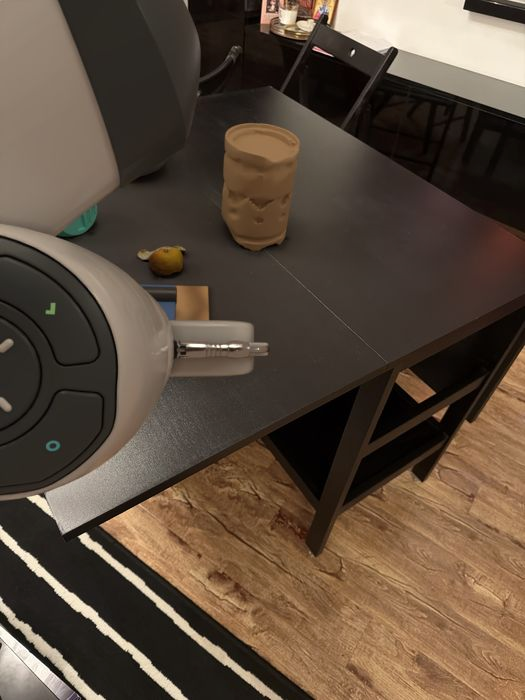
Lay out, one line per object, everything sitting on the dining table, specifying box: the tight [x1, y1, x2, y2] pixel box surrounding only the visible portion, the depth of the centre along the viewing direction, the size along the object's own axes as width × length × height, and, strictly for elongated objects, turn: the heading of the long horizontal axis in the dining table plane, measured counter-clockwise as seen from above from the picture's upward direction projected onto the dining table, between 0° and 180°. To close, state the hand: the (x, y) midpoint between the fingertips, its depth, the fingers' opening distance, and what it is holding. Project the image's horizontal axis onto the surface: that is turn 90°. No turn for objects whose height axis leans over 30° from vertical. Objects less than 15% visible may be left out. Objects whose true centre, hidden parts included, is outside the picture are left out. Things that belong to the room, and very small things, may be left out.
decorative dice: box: [56, 203, 98, 238], centre depth 85 cm, size 8×8×8 cm
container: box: [221, 122, 301, 252], centre depth 86 cm, size 13×13×18 cm
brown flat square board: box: [176, 285, 210, 320], centre depth 73 cm, size 16×16×1 cm
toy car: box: [138, 283, 177, 320], centre depth 68 cm, size 6×6×12 cm
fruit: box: [136, 245, 187, 277], centre depth 81 cm, size 8×8×4 cm
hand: (127, 343), depth 41 cm, fingers closed
